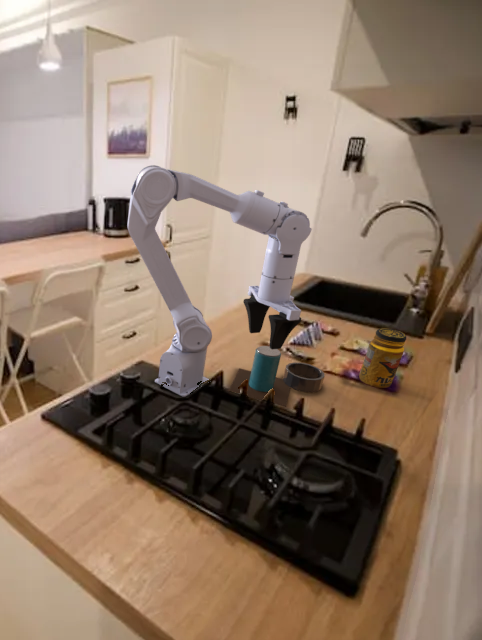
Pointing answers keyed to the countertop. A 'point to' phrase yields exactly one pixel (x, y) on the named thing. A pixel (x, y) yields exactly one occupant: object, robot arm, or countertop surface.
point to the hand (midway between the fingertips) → (264, 340)
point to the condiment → (383, 358)
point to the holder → (307, 371)
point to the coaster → (279, 389)
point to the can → (264, 368)
